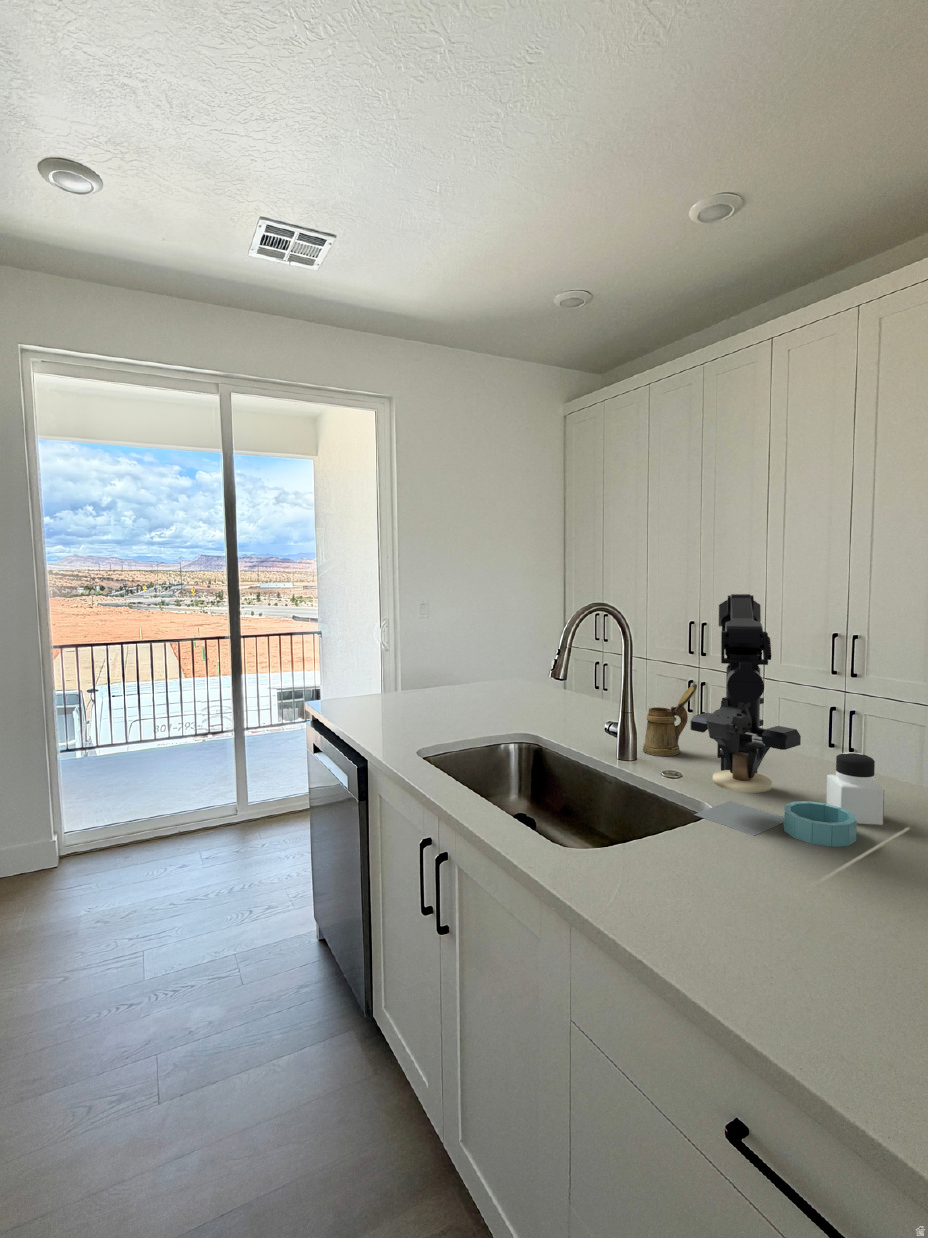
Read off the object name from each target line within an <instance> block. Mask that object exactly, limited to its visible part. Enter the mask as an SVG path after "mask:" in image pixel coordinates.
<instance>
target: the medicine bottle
mask: <svg viewBox="0 0 928 1238" xmlns="http://www.w3.org/2000/svg"><path fill="white" fill-rule="evenodd" d="M835 761H836V762H835V774H830V773H829V774H827V776H826V800H825V801H826V804H829V805H833V806H837V807H840V808H843V809H845V810H847V811H849V812H851V813H853V814H854V815H855V818H856V820H857V824H865V825H880V826H882V825H884V815H885V811H884V810H885V788H884V787H883V786H882V785H880V784H879V783H877V782H876V781H875V765H876V764H875V763H876V762H875V760H874V759H873V758H872V757H871V756H869V755H866V754H863V753H860V752H859V753H858V752H842V753H838V754H837V755H836V756H835Z"/></svg>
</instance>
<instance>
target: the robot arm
mask: <svg viewBox="0 0 928 1238" xmlns="http://www.w3.org/2000/svg"><path fill="white" fill-rule="evenodd" d="M761 611H762V609H761V604H760V603H758V602H757V601H756V600H755V599H754V595H753V594H750V593H740V594H739V593H738V594H737V593H736V594H735V593H734V594H732V593H731V594H730V595H727V599H726V600H724V601H722V602H721V603H720V604H719V605H718V627H720V628H721V633H720V634H721V636H720V637H721V638H720V639H721V640H720V643H721V645H720V647H721V648H720V652H721V653H720V659H721V660H720V664H727V666H726V668H725V669H726V671H725V672H726V676H725V678H726V681H725V685H726V686H725V697H721V702H720V708H718V709H716V710H715V711H713V712H711V713H710V712H703V713H699V714H695V715H693V716H692V717H691V719H690V722H689V723H690V725H689V727H690V729H689V730H691V731H694V732H698V733H705V732H706V731H707V730H708V731H707V732H708V736H709V738H710V739H712V740H714V741H715V742H716V743H717V753H716V754H717V759H720V771H723V770H730V772H731V773H732V772H733V753H735V752H744V753H748V777H749V778H753V777H754V775H755V773H758V769H759V768H760V765H761V763H762V762H763V760H764V758H765V756H766V755H767V753H768V751H769V750H770V748H771V749H776V750H779V751H780V750H783V751H784V750H790V749H793V748H795V747H798V746H801V743H802V742H801V740H802V739H801V734H800V732H799V731H798V730H797V728H792V727H786V726H781V725H776V726H772V727H769V728H762V726H764V719H760V717H761V716H760V714H761V708H760V707H761V705H762V704H764V703H765V701H764V700H765V697H762V695H763V694H764V691H765V682H764V680H763V678H762V676H761V668H760V666H768V665H769V661H771V660H772V643H771V637H770V636H769V634H768V632H767V631H764V629H763V625H762V623H761V621H762V619H761V618H762V617H761V616H762V615H761V613H762V612H761ZM759 665H760V666H759Z"/></svg>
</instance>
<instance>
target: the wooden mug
mask: <svg viewBox="0 0 928 1238" xmlns="http://www.w3.org/2000/svg"><path fill="white" fill-rule="evenodd" d="M697 689H698V685H697V684H693V685H692V686H690V687H688V688H687V689H686V690H685V692H684V693H683V694H682V696H681V697H680V699H679V700H678V704H677V705H673V706H671V707H670V708H667V707H662V706H661V707H658V706H657V707H649V708H648V712H647V713H648V714H647V715H646V721H647V723H646V731H645V737H644V738H645V739H644V743H643V747H642V751H643V753H645V752H646V753H645V754H648V755H651V756H657V757H671V756H676V755H678V754H679V753H680V750H681V749H680V746H679V739H680V736H681V734H682V733H683V730H684V729H685V727H686V725H687V724H688V712H687V710H686V709H685V707H684V706H685V705H686V704H687V703H689V702H690V700H691V698H692V697H693V696H694V695H695V693H696V691H697ZM676 716H677V717H678V718H679V719H680V722H679V723H678V724H677V725H676V724H675V722H676V721H677V717H676Z"/></svg>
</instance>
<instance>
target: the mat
mask: <svg viewBox="0 0 928 1238" xmlns="http://www.w3.org/2000/svg"><path fill="white" fill-rule="evenodd" d="M693 816H696V817H699V818H702V819H704V820H708V821H710V822H714V823H716V824H718V825H722V826H725V827H728V828H731V829H734V830H736V831H739V832H742V833H745V834H747V835H751V836H754V837H756V836H758V835H760V834H762V833H764V832H766V831H768V830H771V829H772V828H775V827H777V826H779V825H781V824H782V825H783V824H784V816H780V815H778V814H774V813H771V812H768V811H765V810H761V809H758V808H755V807H751V806H749V805H745V804H742V803H739V802H735V801H732V800H728V801H726V802H723V803H720V804H718V805H716V806H712V807H710V808H707V809H705V810H703V811H700V812H697V813H695V814H693Z"/></svg>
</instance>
